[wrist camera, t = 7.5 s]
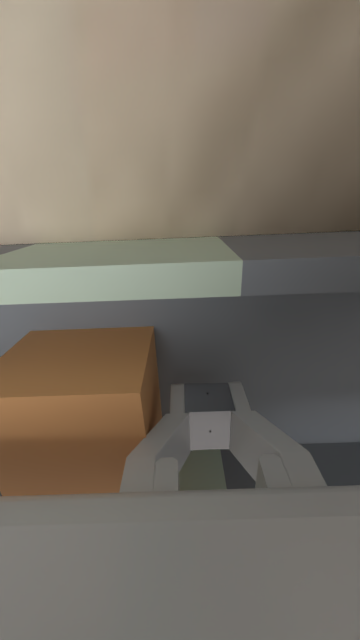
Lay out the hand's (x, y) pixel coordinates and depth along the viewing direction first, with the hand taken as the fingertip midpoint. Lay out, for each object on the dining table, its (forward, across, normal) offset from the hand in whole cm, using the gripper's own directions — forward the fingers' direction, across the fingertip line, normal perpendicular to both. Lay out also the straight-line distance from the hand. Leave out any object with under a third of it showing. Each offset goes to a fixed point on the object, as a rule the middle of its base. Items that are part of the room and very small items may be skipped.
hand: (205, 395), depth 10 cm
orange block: (+1, +4, 0) cm, 5 cm away
